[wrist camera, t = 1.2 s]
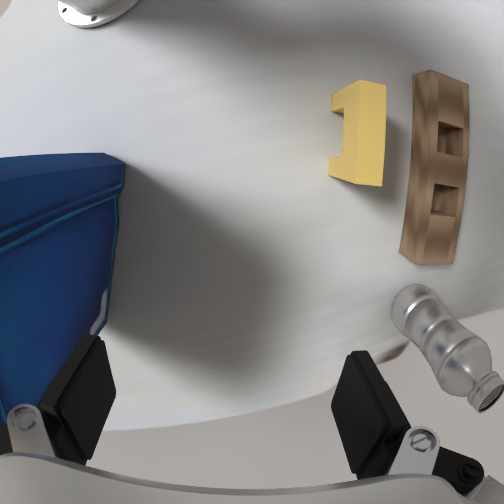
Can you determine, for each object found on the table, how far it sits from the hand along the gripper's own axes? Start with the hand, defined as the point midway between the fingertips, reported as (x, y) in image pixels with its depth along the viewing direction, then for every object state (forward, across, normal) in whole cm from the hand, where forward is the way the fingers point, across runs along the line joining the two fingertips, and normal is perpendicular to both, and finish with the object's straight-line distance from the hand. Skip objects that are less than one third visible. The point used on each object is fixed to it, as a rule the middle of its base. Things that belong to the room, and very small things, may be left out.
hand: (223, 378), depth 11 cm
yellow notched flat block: (+23, -11, -11) cm, 28 cm away
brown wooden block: (+23, -23, -9) cm, 34 cm away
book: (+24, +17, +2) cm, 29 cm away
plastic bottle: (+24, -24, +9) cm, 34 cm away
